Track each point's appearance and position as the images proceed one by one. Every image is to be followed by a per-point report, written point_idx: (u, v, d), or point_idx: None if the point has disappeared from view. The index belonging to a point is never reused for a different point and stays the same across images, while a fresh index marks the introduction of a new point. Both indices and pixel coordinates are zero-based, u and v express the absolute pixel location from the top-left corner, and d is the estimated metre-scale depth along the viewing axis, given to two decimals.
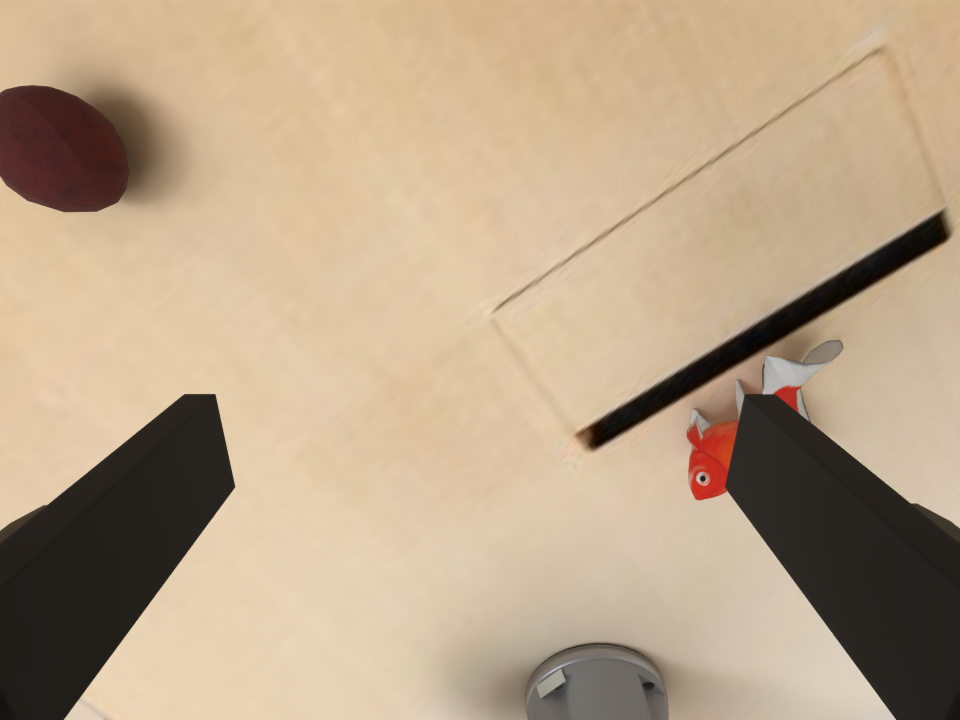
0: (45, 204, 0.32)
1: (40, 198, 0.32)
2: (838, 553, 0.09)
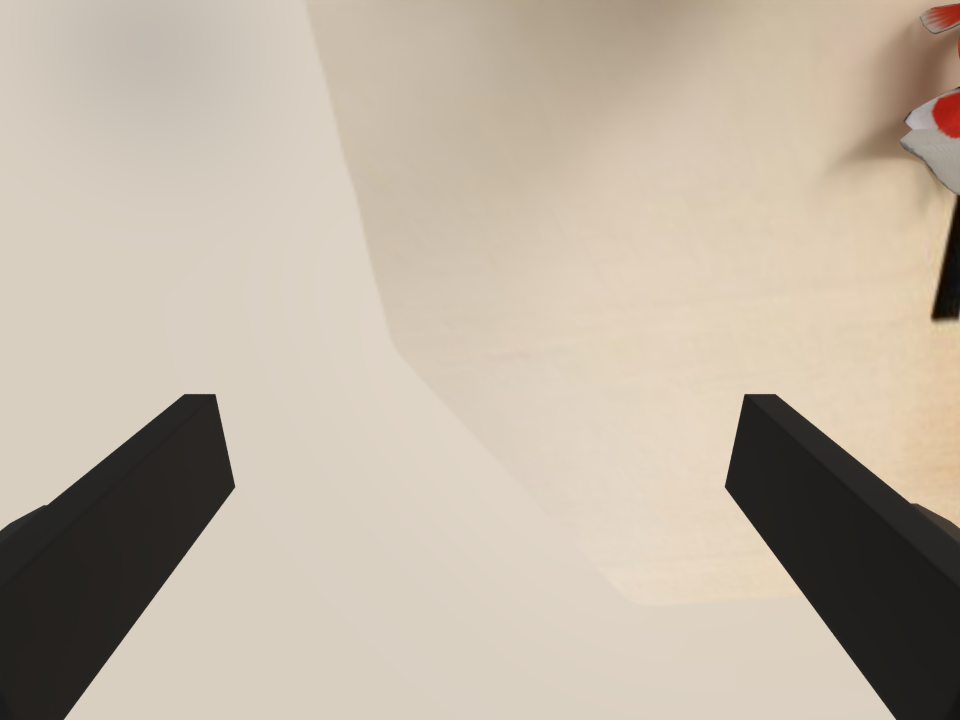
0: None
1: None
2: (838, 553, 0.09)
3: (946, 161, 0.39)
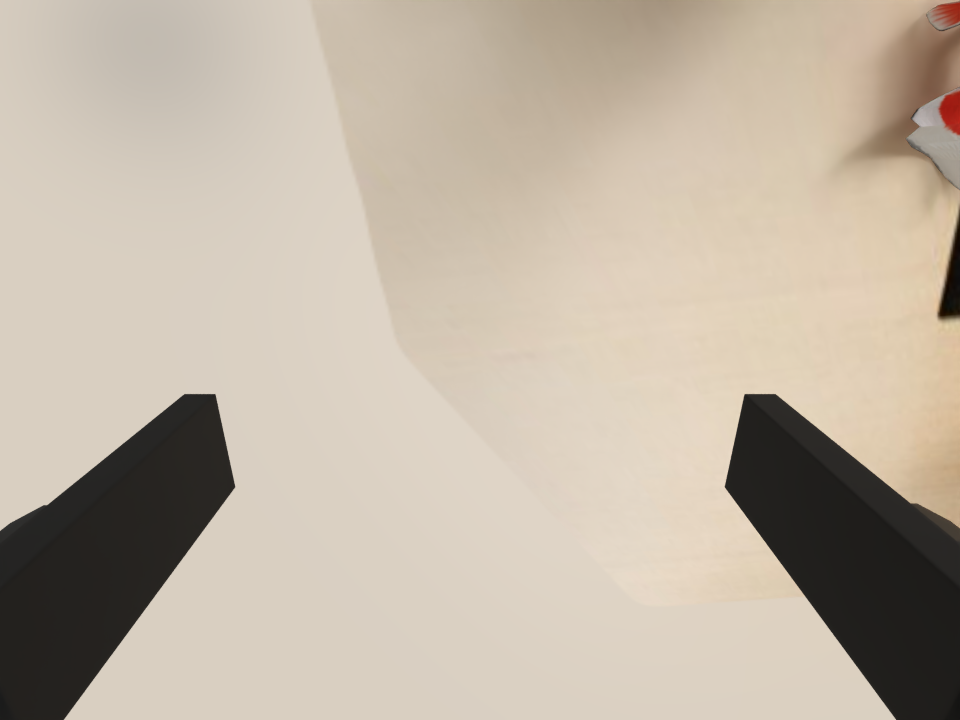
0: None
1: None
2: (839, 553, 0.09)
3: (953, 158, 0.39)
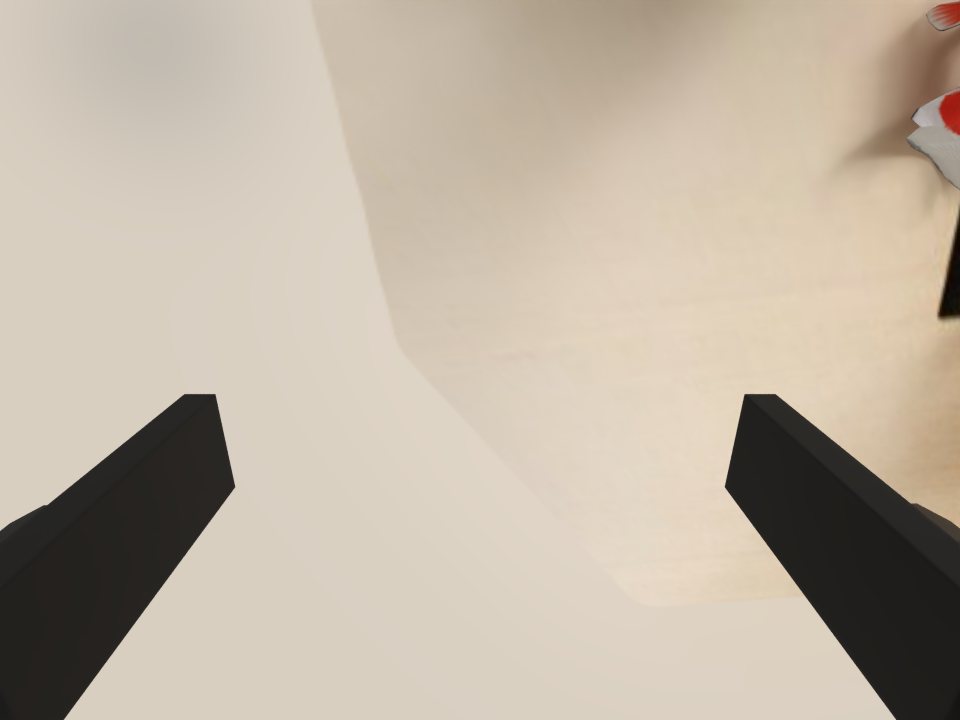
0: None
1: None
2: (839, 553, 0.09)
3: (953, 158, 0.39)
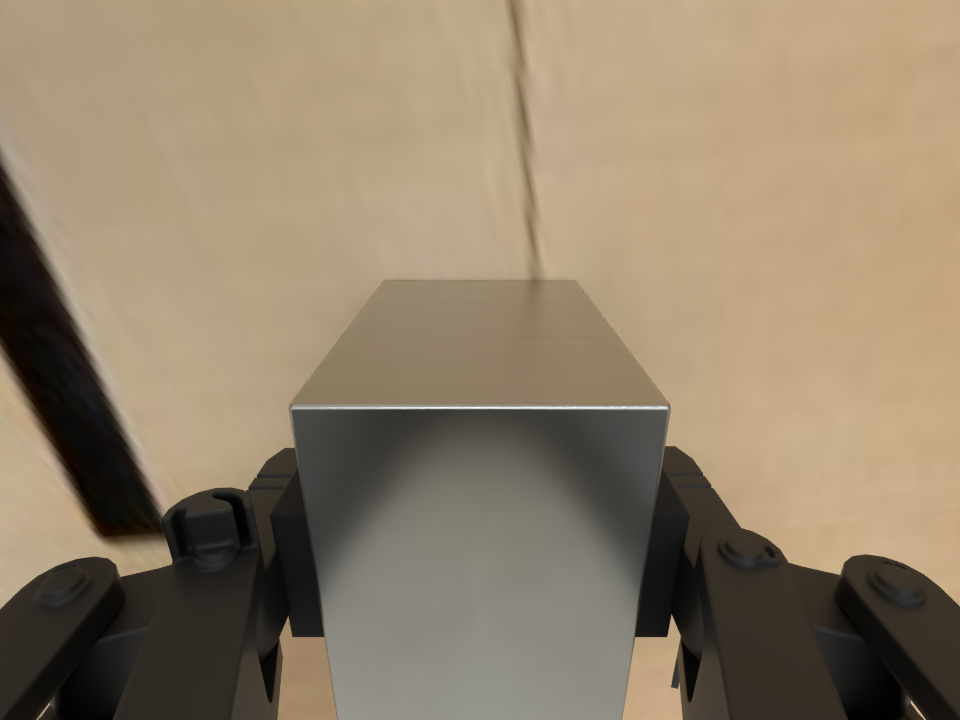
0: None
1: None
2: None
3: None
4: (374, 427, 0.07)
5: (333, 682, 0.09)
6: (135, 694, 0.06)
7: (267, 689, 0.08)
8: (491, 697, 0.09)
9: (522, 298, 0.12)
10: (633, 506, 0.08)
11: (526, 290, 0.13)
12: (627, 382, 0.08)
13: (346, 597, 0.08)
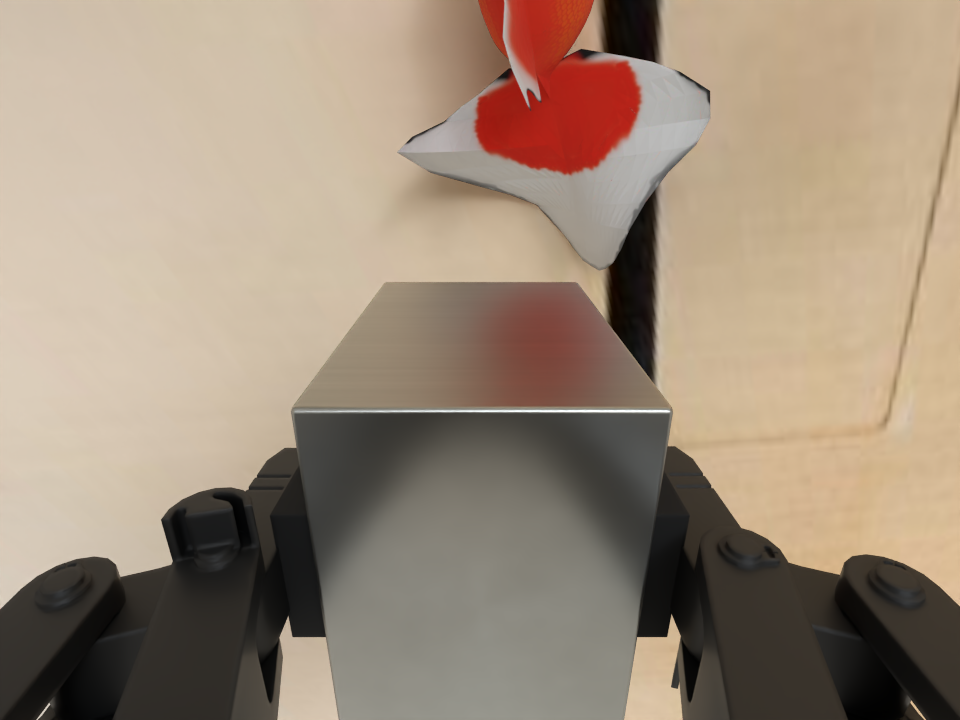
0: None
1: None
2: None
3: (555, 206, 0.23)
4: (377, 430, 0.07)
5: (335, 684, 0.09)
6: (135, 694, 0.06)
7: (267, 689, 0.08)
8: (493, 700, 0.09)
9: (523, 300, 0.12)
10: (635, 509, 0.08)
11: (527, 292, 0.13)
12: (629, 385, 0.08)
13: (348, 600, 0.08)
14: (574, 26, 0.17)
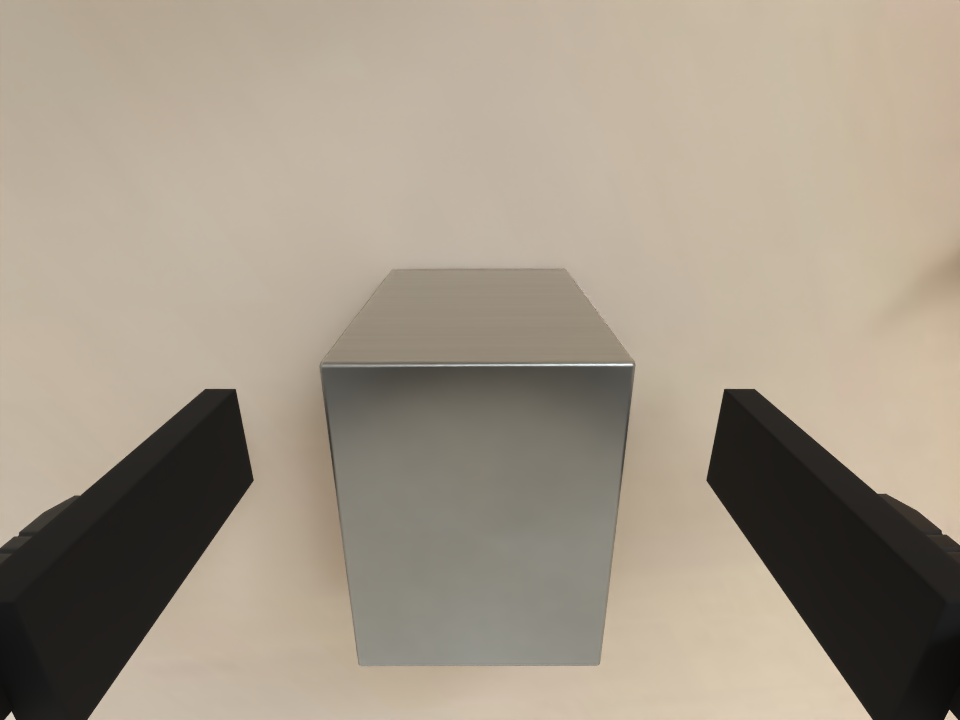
0: None
1: None
2: (808, 542, 0.09)
3: None
4: (390, 381, 0.09)
5: (352, 609, 0.11)
6: None
7: None
8: (489, 623, 0.11)
9: (516, 283, 0.14)
10: (606, 450, 0.09)
11: (520, 277, 0.14)
12: (601, 346, 0.09)
13: (365, 531, 0.10)
14: None
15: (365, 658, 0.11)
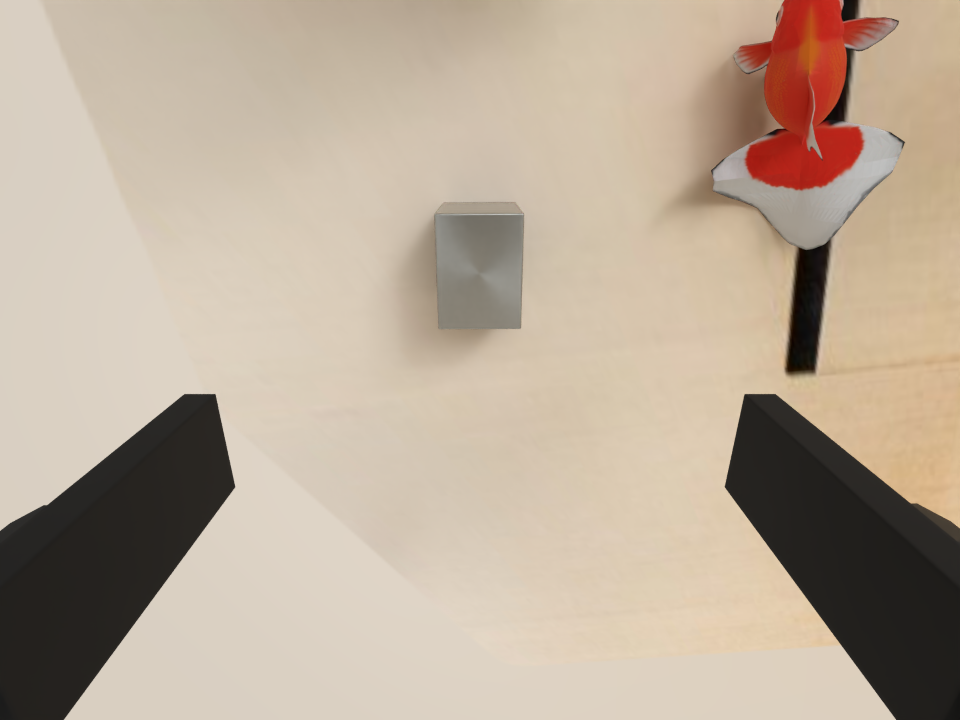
0: None
1: None
2: (838, 553, 0.09)
3: (776, 209, 0.36)
4: (454, 219, 0.30)
5: (438, 303, 0.32)
6: None
7: None
8: (483, 309, 0.32)
9: (494, 204, 0.35)
10: (517, 242, 0.31)
11: (496, 203, 0.36)
12: (516, 212, 0.31)
13: (444, 272, 0.31)
14: (831, 108, 0.30)
15: (441, 324, 0.33)
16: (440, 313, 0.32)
